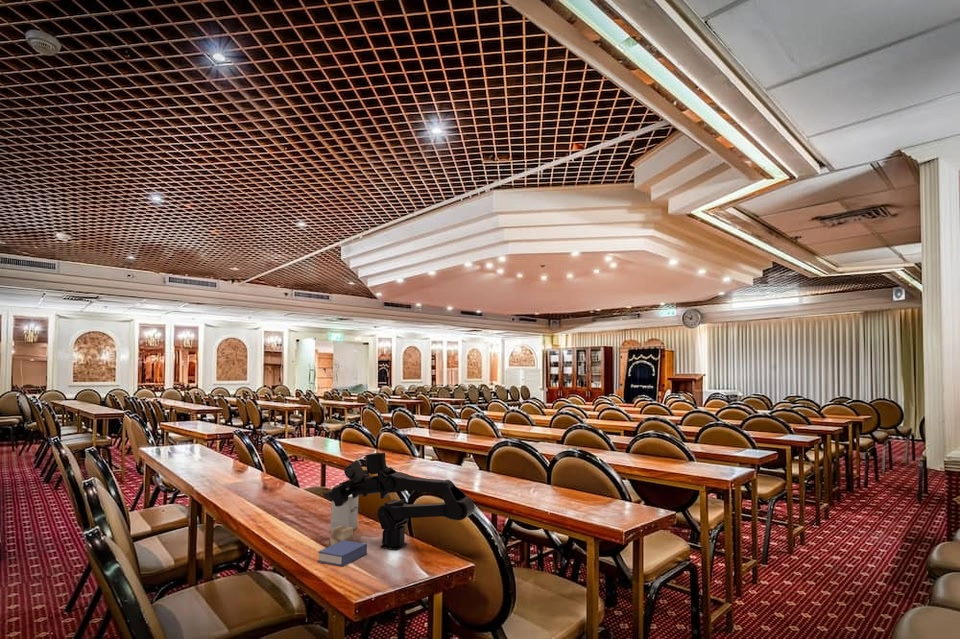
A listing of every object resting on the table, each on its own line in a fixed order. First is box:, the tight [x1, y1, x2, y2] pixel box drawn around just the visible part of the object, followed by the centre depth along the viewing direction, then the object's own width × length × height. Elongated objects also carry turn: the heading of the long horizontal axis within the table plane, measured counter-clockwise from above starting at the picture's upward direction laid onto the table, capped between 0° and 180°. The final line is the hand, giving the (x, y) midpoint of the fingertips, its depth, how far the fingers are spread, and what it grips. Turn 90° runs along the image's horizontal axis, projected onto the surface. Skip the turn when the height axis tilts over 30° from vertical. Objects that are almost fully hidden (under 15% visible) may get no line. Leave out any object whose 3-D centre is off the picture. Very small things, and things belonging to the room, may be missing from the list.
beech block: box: [329, 526, 354, 546], centre depth 170 cm, size 5×5×5 cm
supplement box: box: [329, 494, 360, 533], centre depth 186 cm, size 7×7×13 cm
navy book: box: [317, 540, 368, 567], centre depth 156 cm, size 9×12×3 cm
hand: (331, 489), depth 179 cm, fingers open, 9 cm apart
